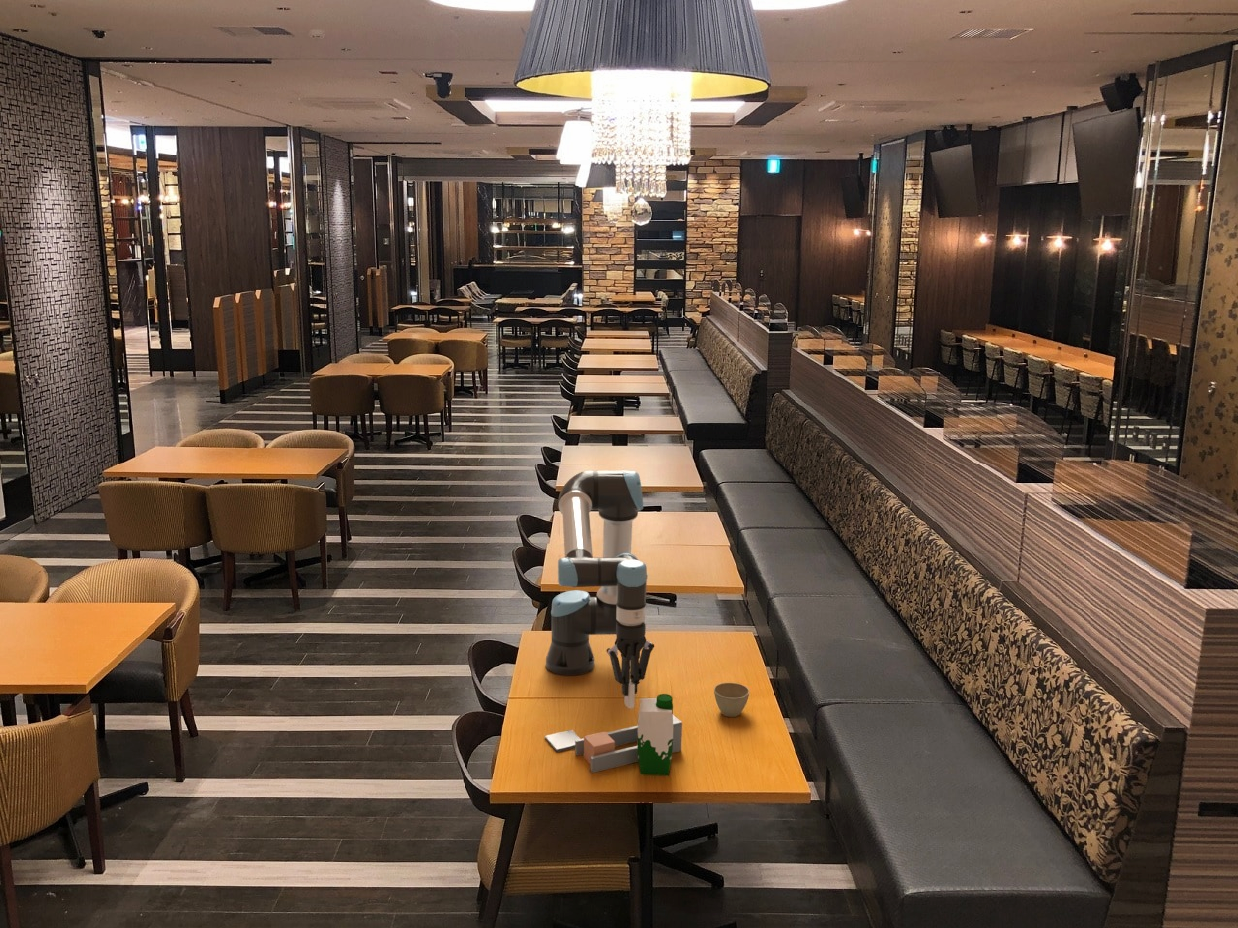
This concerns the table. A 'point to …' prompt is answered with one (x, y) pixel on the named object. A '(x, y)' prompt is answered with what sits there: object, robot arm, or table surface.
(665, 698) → the milk carton
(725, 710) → the flower pot
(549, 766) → the table surface
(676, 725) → the chute
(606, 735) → the block
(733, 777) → the table surface
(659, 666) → the table surface
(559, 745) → the coaster
